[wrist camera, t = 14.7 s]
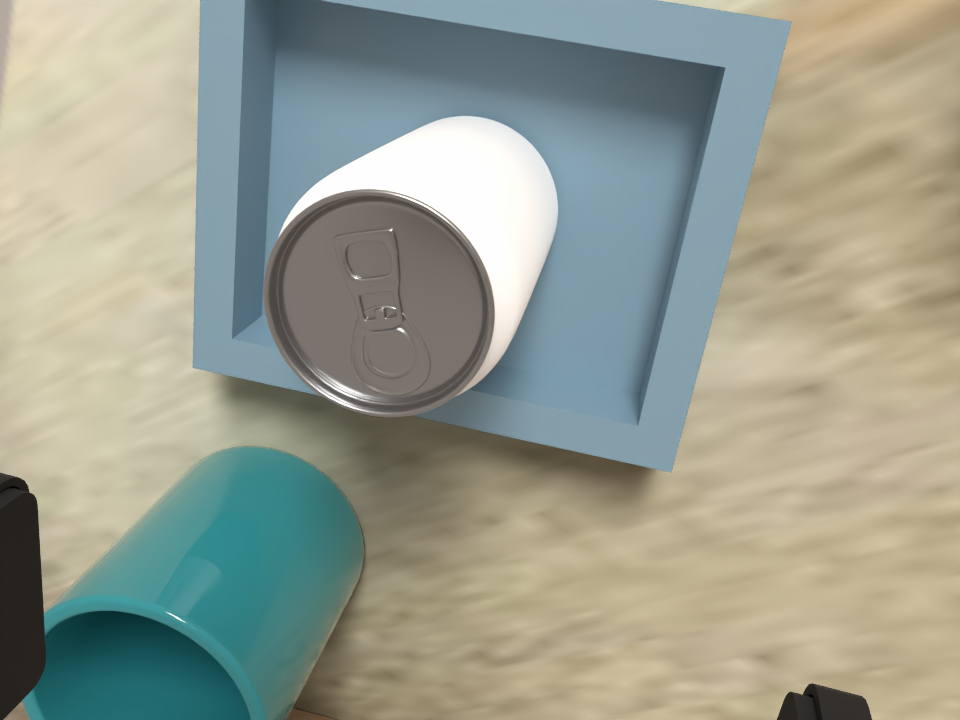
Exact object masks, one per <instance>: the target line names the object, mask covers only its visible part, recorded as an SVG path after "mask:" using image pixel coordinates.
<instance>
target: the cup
mask: <svg viewBox="0 0 960 720" xmlns="http://www.w3.org/2000/svg"><path fill="white" fill-rule="evenodd" d="M363 561H364V542H363V535H362V531H361V527H360V524H359V521H358V519H357V516H356V514H355V512H354V510H353V508H352V506H351V504H350V503H349V501H348V500H347V498H346V496H345V495H344V494H343V493H342V491H341V490H340V489H339V488H338V487H337V485H336V484H335V483H334V482H333V481H332V480H331V479H330V478H329V477H328V476H326V475H325V474H324V473H323V472H322V471H320V470H319V469H317V468H316V467H315V466H313V465H311V464H310V463H308V462H307V461H305V460H303V459H301V458H299V457H297V456H294V455H292V454H289V453H287V452H284V451H280V450H277V449H273V448H267V447H259V446H241V447H233V448H228V449H224V450H221V451H218V452H215V453H213V454H210V455H208V456H206V457H205V458H203V459H201V460H200V461H198V462H197V463H196V464H194V465H193V466H192V467H191V468H190V469H189V470H188V471H187V472H186V473H185V474H183V475H182V476H181V477H180V478H179V479H178V480H177V481H176V482H175V483H174V484H173V485H172V486H171V487H170V488H169V489H168V490H167V491H166V492H165V493H164V494H163V495H162V496H161V497H160V498H159V499H158V500H157V501H156V502H155V503H154V504H153V505H152V506H151V507H150V508H149V509H148V510H147V511H146V512H145V513H144V514H143V515H142V516H141V517H140V518H139V519H138V520H137V521H136V522H135V523H134V524H133V525H132V526H131V527H130V528H129V529H128V530H127V531H126V532H125V533H124V534H123V535H122V536H121V537H120V538H119V539H118V540H117V541H116V542H115V543H114V544H113V545H112V546H111V547H110V548H109V549H108V550H106V551H105V552H104V553H103V554H102V555H101V556H100V557H99V558H98V559H97V560H96V561H95V562H94V563H93V564H92V565H91V566H90V567H89V568H88V569H87V570H86V571H85V572H84V573H83V574H82V575H81V576H80V577H79V578H78V579H77V580H76V581H75V582H74V583H73V584H72V585H71V586H70V587H69V588H68V589H67V590H66V591H65V592H64V593H63V594H62V595H61V596H60V597H59V598H58V599H57V600H56V601H55V602H54V603H53V604H52V605H51V606H50V607H49V608H48V609H47V610H46V611H45V612H44V627H45V644H46V664H45V668H44V671H43V674H42V676H41V678H40V680H39V681H38V683H37V685H36V686H35V687H34V688H33V690H32V691H31V692H30V693H29V694H28V695H27V696H26V697H25V698H24V699H23V700H22V702H23V705H24V708H25V710H26V712H27V715H28V717H29V719H30V720H287V719H288V717H289V715H290V713H291V711H292V709H293V707H294V705H295V703H296V701H297V699H298V697H299V696H300V694H301V692H302V690H303V688H304V686H305V684H306V682H307V680H308V678H309V676H310V674H311V672H312V670H313V669H314V667H315V665H316V663H317V661H318V659H319V657H320V655H321V653H322V651H323V649H324V647H325V645H326V643H327V641H328V640H329V638H330V636H331V634H332V632H333V630H334V628H335V626H336V624H337V622H338V620H339V618H340V616H341V614H342V612H343V611H344V609H345V607H346V605H347V603H348V601H349V599H350V597H351V595H352V593H353V591H354V589H355V587H356V585H357V583H358V580H359V578H360V575H361V571H362V567H363Z"/></svg>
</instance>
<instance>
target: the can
mask: <svg viewBox="0 0 960 720" xmlns="http://www.w3.org/2000/svg"><path fill="white" fill-rule="evenodd" d="M557 218H558V201H557V193H556V188H555V184H554V181H553V178H552V176H551V173H550V171H549V169H548V167H547V165H546V163H545V161H544V160H543V158H542V157H541V155H540V154H539V153H538V151H537V150H536V149H535V148H534V147H533V145H532V144H531V143H530V142H529V141H528V140H526V139H525V138H524V137H523V136H522V135H520V134H519V133H518V132H516V131H515V130H513V129H511V128H510V127H508V126H506V125H504V124H502V123H499V122H497V121H494V120H490V119H487V118H482V117H476V116H456V117H449V118H444V119H440V120H437V121H434V122H432V123H429V124H427V125H425V126H422V127H420V128H418V129H416V130H414V131H412V132H410V133H408V134H406V135H404V136H402V137H400V138H398V139H396V140H394V141H392V142H390V143H388V144H386V145H384V146H382V147H380V148H378V149H376V150H374V151H372V152H370V153H368V154H366V155H364V156H362V157H360V158H358V159H357V160H355V161H353V162H351V163H349V164H347V165H345V166H343V167H342V168H340V169H338V170H336V171H335V172H333V173H331V174H330V175H328V176H327V177H325V178H323V179H322V180H321V181H319V182H318V183H317V184H315V185H314V186H313V187H312V188H311V189H310V190H309V191H308V192H307V193H306V194H305V195H304V196H303V197H302V198H301V199H300V200H299V201H298V202H297V204H296V205H295V206H294V208H293V209H292V210H291V212H290V213H289V215H288V217H287V219H286V221H285V222H284V224H283V227H282V229H281V231H280V234H279V237H278V239H277V241H276V243H275V245H274V247H273V249H272V251H271V254H270V256H269V260H268V263H267V267H266V271H265V277H264V288H263V296H264V308H265V314H266V319H267V323H268V326H269V329H270V332H271V335H272V337H273V340H274V342H275V344H276V346H277V348H278V350H279V352H280V353H281V355H282V357H283V358H284V360H285V361H286V363H287V364H288V365H289V367H290V368H291V369H292V370H293V372H294V373H295V374H296V375H297V376H298V377H299V378H300V379H301V380H302V381H303V382H304V383H305V384H306V385H307V386H308V387H310V388H311V389H312V390H313V391H315V392H316V393H317V394H319V395H320V396H322V397H323V398H325V399H326V400H328V401H330V402H332V403H334V404H336V405H338V406H340V407H342V408H345V409H347V410H350V411H353V412H356V413H360V414H364V415H369V416H375V417H405V416H411V415H416V414H420V413H423V412H426V411H429V410H432V409H434V408H436V407H438V406H440V405H442V404H444V403H446V402H447V401H449V400H450V399H452V398H453V397H455V396H457V395H459V394H461V393H463V392H465V391H467V390H468V389H470V388H471V387H473V386H474V385H476V384H477V383H478V382H479V381H481V380H482V379H483V378H484V377H485V376H486V375H487V374H488V373H489V372H490V371H491V370H492V369H493V368H494V366H495V365H496V364H497V363H498V361H499V360H500V359H501V357H502V356H503V354H504V353H505V351H506V350H507V348H508V346H509V344H510V342H511V340H512V338H513V336H514V334H515V332H516V330H517V328H518V325H519V323H520V321H521V319H522V316H523V314H524V311H525V309H526V307H527V304H528V302H529V299H530V297H531V295H532V292H533V290H534V287H535V285H536V282H537V280H538V277H539V275H540V273H541V270H542V268H543V265H544V263H545V260H546V258H547V255H548V252H549V250H550V247H551V244H552V241H553V238H554V235H555V231H556V226H557Z"/></svg>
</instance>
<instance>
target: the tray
mask: <svg viewBox="0 0 960 720" xmlns="http://www.w3.org/2000/svg"><path fill="white" fill-rule="evenodd" d="M791 23H792V22H790V21H784V20H777V19H771V18H765V17H758V16H752V15H746V14H740V13H733V12H727V11H721V10H714V9H708V8H702V7H695V6H689V5H683V4H677V3H670V2H664V1H658V0H200V36H199V86H198V136H197V185H196V235H195V285H194V334H193V368H196V369H200V370H205V371H209V372H214V373H219V374H223V375H228V376H232V377H237V378H241V379H246V380H251V381H255V382H260V383H264V384H269V385H273V386H278V387H282V388H287V389H292V390H296V391H301V392H305V393H310V394H314V395H319V394H317V393H316V392H315V391H313V390H312V389H311V388H310V387H308V386H307V385H306V384H305V383H304V382H303V381H302V380H301V379H300V378H299V377H298V376H297V375H296V374H295V373H294V372H293V370H292V369H291V368H290V367H289V365H288V364H287V363H286V361H285V360H284V358H283V357H282V355H281V353H280V352H279V350H278V348H277V346H276V344H275V342H274V340H273V337H272V335H271V332H270V329H269V326H268V323H267V319H266V314H265V308H264V296H263V288H264V277H265V271H266V267H267V263H268V260H269V256H270V254H271V251H272V249H273V247H274V245H275V243H276V241H277V239H278V237H279V234H280V231H281V229H282V227H283V224H284V222H285V221H286V219H287V217H288V215H289V213H290V212H291V210H292V209H293V208H294V206H295V205H296V204H297V202H298V201H299V200H300V199H301V198H302V197H303V196H304V195H305V194H306V193H307V192H308V191H309V190H310V189H311V188H312V187H313V186H314V185H315V184H317V183H318V182H319V181H321V180H322V179H323V178H325V177H327V176H328V175H330V174H331V173H333V172H335V171H336V170H338V169H340V168H342V167H343V166H345V165H347V164H349V163H351V162H353V161H355V160H357V159H358V158H360V157H362V156H364V155H366V154H368V153H370V152H372V151H374V150H376V149H378V148H380V147H382V146H384V145H386V144H388V143H390V142H392V141H394V140H396V139H398V138H400V137H402V136H404V135H406V134H408V133H410V132H412V131H414V130H416V129H418V128H420V127H422V126H425V125H427V124H429V123H432V122H434V121H437V120H440V119H444V118H449V117H456V116H476V117H482V118H487V119H490V120H494V121H497V122H499V123H502V124H504V125H506V126H508V127H510V128H511V129H513V130H515V131H516V132H518V133H519V134H520V135H522V136H523V137H524V138H525V139H526V140H528V141H529V142H530V143H531V144H532V145H533V147H534V148H535V149H536V150H537V151H538V153H539V154H540V155H541V157H542V158H543V160H544V161H545V163H546V165H547V167H548V169H549V171H550V173H551V176H552V178H553V181H554V184H555V188H556V193H557V201H558V218H557V226H556V231H555V235H554V238H553V241H552V244H551V247H550V250H549V252H548V255H547V258H546V260H545V263H544V265H543V268H542V270H541V273H540V275H539V277H538V280H537V282H536V285H535V287H534V290H533V292H532V295H531V297H530V299H529V302H528V304H527V307H526V309H525V311H524V314H523V316H522V319H521V321H520V323H519V325H518V328H517V330H516V332H515V334H514V336H513V338H512V340H511V342H510V344H509V346H508V348H507V350H506V351H505V353H504V354H503V356H502V357H501V359H500V360H499V361H498V363H497V364H496V365H495V366H494V368H493V369H492V370H491V371H490V372H489V373H488V374H487V375H486V376H485V377H484V378H483V379H482V380H481V381H479V382H478V383H477V384H476V385H474V386H473V387H471V388H470V389H468V390H467V391H465V392H463V393H461V394H459V395H457V396H455V397H453V398H452V399H450V400H449V401H447V402H446V403H444V404H442V405H440V406H438V407H436V408H434V409H432V410H429V411H426V412H423V413H420V414H416V415H411V416H415V417H420V418H424V419H429V420H433V421H438V422H442V423H447V424H452V425H456V426H461V427H465V428H470V429H474V430H479V431H484V432H488V433H493V434H497V435H502V436H506V437H511V438H516V439H520V440H525V441H529V442H534V443H538V444H543V445H548V446H552V447H557V448H561V449H566V450H570V451H575V452H580V453H584V454H589V455H593V456H598V457H602V458H607V459H611V460H616V461H621V462H625V463H630V464H634V465H639V466H643V467H648V468H653V469H657V470H662V471H666V472H671V471H672V468H673V464H674V460H675V457H676V453H677V449H678V445H679V442H680V438H681V434H682V430H683V427H684V423H685V419H686V415H687V412H688V408H689V404H690V400H691V397H692V393H693V389H694V385H695V382H696V378H697V374H698V370H699V367H700V363H701V359H702V356H703V352H704V348H705V344H706V341H707V337H708V333H709V329H710V326H711V322H712V318H713V314H714V311H715V307H716V303H717V299H718V296H719V292H720V288H721V284H722V281H723V277H724V273H725V270H726V266H727V262H728V258H729V255H730V251H731V247H732V243H733V240H734V236H735V232H736V228H737V225H738V221H739V217H740V213H741V210H742V206H743V202H744V198H745V195H746V191H747V187H748V184H749V180H750V176H751V172H752V169H753V165H754V161H755V157H756V154H757V150H758V146H759V142H760V139H761V135H762V131H763V127H764V124H765V120H766V116H767V112H768V109H769V105H770V101H771V97H772V94H773V90H774V86H775V83H776V79H777V75H778V71H779V68H780V64H781V60H782V56H783V53H784V49H785V45H786V41H787V38H788V34H789V30H790V26H791ZM319 396H320V395H319Z"/></svg>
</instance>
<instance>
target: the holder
mask: <svg viewBox="0 0 960 720" xmlns="http://www.w3.org/2000/svg"><path fill="white" fill-rule="evenodd" d="M287 720H337V719H333V718H329V717H325V716H321V715H317V714H314V713H310V712H306V711H302V710H298V709H294V708H293V709H292V711H291V713H290V715H289V717H288V719H287Z"/></svg>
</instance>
